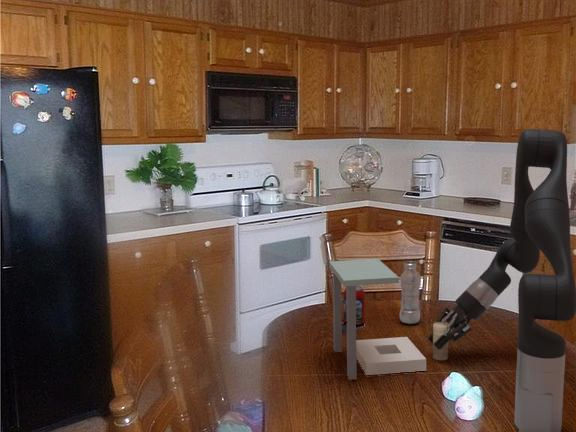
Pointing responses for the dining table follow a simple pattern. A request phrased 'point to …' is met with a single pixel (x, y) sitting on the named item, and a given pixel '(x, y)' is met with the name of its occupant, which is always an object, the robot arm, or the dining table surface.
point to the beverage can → (357, 304)
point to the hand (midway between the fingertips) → (433, 343)
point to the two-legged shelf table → (354, 299)
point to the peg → (438, 331)
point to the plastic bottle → (410, 294)
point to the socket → (389, 356)
